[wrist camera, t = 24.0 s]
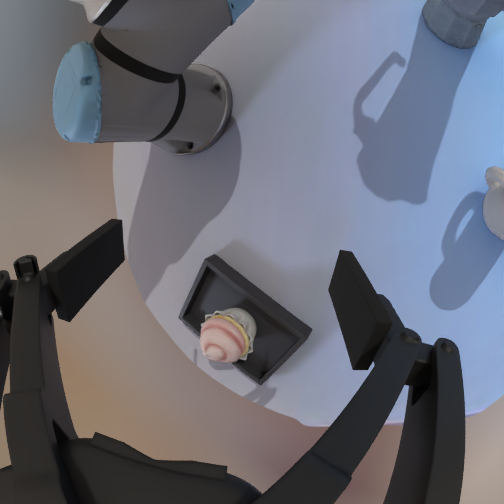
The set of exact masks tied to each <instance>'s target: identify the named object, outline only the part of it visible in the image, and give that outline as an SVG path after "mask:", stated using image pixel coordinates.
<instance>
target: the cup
mask: <svg viewBox="0 0 504 504" xmlns="http://www.w3.org/2000/svg"><path fill="white" fill-rule="evenodd" d="M485 179H486V182H487V184H488V186H489V189H488V191H487V192H486V195H485V197H484V201H483V216H484V220H485V223H486V225H487V227H488V228H489V230H490V231H491V232H492V233H493V234H495V235H496V236H497V237H499V238H500V239H502V240H503V241H504V170H502V169H501V168H499V167H490V168H488V169H487V170H486V173H485Z"/></svg>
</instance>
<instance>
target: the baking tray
mask: <svg viewBox="0 0 504 504" xmlns="http://www.w3.org/2000/svg"><path fill="white" fill-rule="evenodd" d="M229 308H240V309H243V310H245V311H247V312H248V313H249V314H250V315H251V316H252V317H253V319H254V320H255V323H256V327H257V331H256V335H255V337H254V340H253V352H251V353H248V354H247V359H246V360H242V359H238V361H235V362H231V363H232V364H233V365H235V366H236V367H237V368H238V369H240V370H241V371H242V372H244V373H245V374H246V375H247V376H249V377H250V378H251V379H253V380H254V381H255V382H257V383H258V384H259V385H262V384H263V383H264V382H265V381H266V380H267V379H268V378H269V377H270V376H271V375H272V374H273V373H274V372H275V371H276V370H277V369H278V368H279V367H280V366H281V365H282V364H283V363H284V362H285V361H286V360H287V359H288V358H289V357H290V356H291V355H292V354H293V353H294V352H295V351H296V350H297V349H298V348H299V347H300V346H301V345H302V344H303V343H304V342H305V341H306V340H307V338H308V336H309V335H310V333H311V331H312V329H311V328H310V327H308V326H307V325H306V324H304V323H303V322H302V321H300V320H299V319H298V318H296V317H295V316H294V315H293V314H291V313H290V312H289V311H287V310H286V309H285V308H283V307H282V306H281V305H279V304H278V303H277V302H275V301H274V300H273V299H272V298H270V297H269V296H268V295H266V294H265V293H264V292H262V291H261V290H260V289H259V288H257V287H256V286H255V285H253V284H252V283H251V282H250V281H248V280H247V279H246V278H244V277H243V276H242V275H241V274H239V273H238V272H237V271H236V270H234V269H233V268H232V267H230V266H229V265H228V264H227V263H225V262H224V261H223V260H222V259H220V258H219V257H218V256H217V255H215V254H214V255H212V256H210V257H208V258H206V259H205V260H204V262H203V264H202V266H201V268H200V270H199V273H198V275H197V277H196V279H195V281H194V283H193V286H192V288H191V290H190V292H189V294H188V297H187V299H186V301H185V303H184V306H183V308H182V310H181V312H180V315H179V317H178V318H179V319H180V320H182V321H183V322H184V323H185V324H186V325H187V326H188V327H189V328H190V329H192V330H193V331H194V332H195V333H196V334H197V335H198V336H200V337H201V335H200V334H201V328H202V327H201V324H202V323H204V322H205V315H209V314H214V312H215V311H224V310H227V309H229Z"/></svg>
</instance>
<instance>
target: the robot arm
mask: <svg viewBox="0 0 504 504" xmlns="http://www.w3.org/2000/svg"><path fill="white" fill-rule="evenodd" d="M70 1H74V2H77V3H81V4H83V6H84V7H85V10H86V14H87V18H88V21H89V22H91V23H94V24H97V25H100V26H102V27H101V28H100V30H99V31H98V33H97V34H96V36H95V37H94V39H93V40H92V42H91V43H90V42H87V41H84V42H80V43H76V44H74V45H73V46H72V47H71V48H70V50H68V51H67V53H66V54H65V56H64V58H63V60H62V62H61V64H60V67H59V69H58V73H57V76H56V80H55V85H54V92H53V116H54V121H55V125H56V128H57V130H58V132H59V134H60V135H61V136H62V137H63V138H64V139H65V140H67V141H70V142H88V143H90V144H92V143H103V142H141V141H145V142H152V143H154V144H156V145H158V146H160V147H162V148H164V149H165V150H167V151H169V152H172V153H175V155H182V154H196V153H199V152H202V151H204V150H206V149H207V148H209V147H210V146H212V145H213V144H214V143H215V142H216V141H217V140H218V139H219V137H220V136H221V135H222V133H223V132H224V130H225V128H226V127H227V124H228V122H229V119H230V116H231V111H232V93H231V89H230V86H229V84H228V82H227V80H226V79H225V77H224V76H223V75H222V74H221V73H219V72H218V71H216V70H215V69H212V68H210V67H208V66H205V65H201V64H191V63H192V62H193V61H194V60H195V59H196V58H197V57H198V56H199V55H200V54H201V53H202V52H203V51H204V50H205V49H206V48H207V46H208V45H209V44H210V43H212V42H213V41H214V40H215V39H216V38H217V37H218V36H219V35H220V34H221V33H222V32H223V31H224V30H225V29H226V28H227V27H228V26H229V25H233V24H234V23H235V22H236V19H237V18H238V17H239V16H240V15H241V14H242V13H243V12H244V11H245V10H246V9H247V8H248V7H250V6H251V5H252V3H253V2H254V0H70ZM124 260H125V257H124V245H123V228H122V220H117V219H111V220H109V221H108V222H107V223H105V224H104V225H102V226H101V227H99V228H98V229H97V230H95V231H94V232H92V233H91V234H90V235H88V236H87V237H85V238H84V239H83V240H82V241H80V242H79V243H77V244H76V245H75V246H73V247H72V248H71V249H69V250H68V251H66V252H64V253H62V254H61V255H59V256H58V257H57V258H56V259H54V260H53V261H52V262H50V263H49V264H48V265H47V266H46V267H44V268H43V269H42V270H41V271H39V267H38V263H37V259H36V257H35V256H34V255H26V256H23V257H20V258H18V259H17V260H16V261H15V262H14V269H15V272H16V276H17V279H18V280H11V279H10V276H9V273H8V271H5V270H2V271H0V314H1V315H0V408H1V402H2V396H3V391H4V385H5V380H6V376H7V371H8V367H9V363H10V393H8V394H5V395H4V397H3V408H4V419H5V428H6V436H7V442H8V448H9V454H10V459H11V464H12V465H9V466H7V467H4V468H2V469H0V504H334V502H335V501H336V500H337V499H338V497H339V496H340V495H341V493H342V492H343V491H344V490H345V489H346V487H347V486H348V484H349V483H350V481H351V479H352V477H351V475H352V473H353V472H354V470H355V469H356V467H357V466H358V464H359V463H360V462H361V460H362V459H363V457H364V456H365V454H366V453H367V451H368V450H369V448H370V446H371V445H372V443H373V442H374V440H375V438H376V437H377V435H378V433H379V432H380V430H381V428H382V427H383V425H384V423H385V421H386V420H387V418H388V416H389V414H390V412H391V410H392V408H393V407H394V405H395V403H396V401H397V399H398V397H399V395H400V393H401V391H402V388H403V386H404V385H409V391H408V399H407V406H406V413H405V419H404V425H403V430H402V436H401V441H400V445H399V450H398V454H397V459H396V462H395V466H394V470H393V474H392V477H391V481H390V484H389V488H388V491H387V494H386V497H385V500H384V503H383V504H459V501H460V495H461V488H462V480H463V471H464V458H465V457H464V456H465V402H464V388H463V378H462V369H461V362H460V355H459V350H458V347H457V346H456V345H455V343H454V342H452V341H451V340H449V339H446V338H439V339H438V340H437V341H436V342H435V344H434V346H433V345H429V344H425V343H422V340H421V338H420V336H419V335H418V334H417V333H416V332H414V331H413V330H411V329H408V328H405V327H404V325H403V323H402V322H401V320H400V318H399V316H398V315H397V313H396V311H395V310H394V308H393V306H392V304H391V303H390V301H389V300H388V299H387V298H386V297H385V296H383V295H381V294H377V293H376V291H375V289H374V288H373V286H372V284H371V283H370V281H369V279H368V277H367V276H366V274H365V272H364V271H363V269H362V267H361V266H360V264H359V262H358V261H357V259H356V258H355V256H354V254H353V253H352V252H350V251H344V250H340V252H339V255H338V259H337V262H336V266H335V269H334V273H333V276H332V279H331V283H330V286H329V289H328V290H329V293H330V296H331V299H332V303H333V306H334V309H335V312H336V315H337V318H338V321H339V325H340V328H341V331H342V334H343V338H344V341H345V344H346V348H347V351H348V355H349V358H350V362H351V365H352V369H353V370H368V369H369V367H370V365H371V364H372V362H373V361H374V364H375V366H374V368H373V369H372V371H371V372H370V374H369V375H368V377H367V378H366V380H365V381H364V383H363V384H362V385H361V387H360V388H359V390H358V391H357V392H356V394H355V395H354V397H353V398H352V399H351V401H350V402H349V403H348V405H347V406H346V407H345V408H344V410H343V411H342V412H341V414H340V415H339V416H338V417H337V419H336V420H335V421H334V422H333V424H332V425H331V426H330V427H329V429H328V430H327V431H326V432H325V433H324V434H323V435H322V437H321V438H320V439H319V440H318V441H317V442H316V443H315V444H314V446H313V447H312V448H311V449H310V450H309V451H307V452H306V453H305V454H304V455H303V456H302V457H301V458H300V459H299V461H297V462H296V463H295V464H294V465H293V467H291V468H290V469H289V470H288V471H287V472H286V473H285V474H284V476H282V477H281V478H280V479H279V480H278V481H277V482H276V483H275V484H274V485H272V486H271V487H270V488H269V489H268V490H267V491H266V492H265V493H263V494H262V493H261V492H259V491H258V490H257V489H256V488H255V487H254V486H252V485H251V484H250V483H248V482H246V481H244V480H243V479H241V478H239V477H236V476H234V475H231V474H229V473H227V466H222V465H215V464H209V463H203V462H197V461H167V460H155V459H152V458H150V457H148V456H146V455H144V454H143V453H141V452H139V451H137V450H136V449H134V448H132V447H131V446H129V445H127V444H126V443H124V442H121V441H118V440H116V439H113V438H110V437H108V436H105V435H102V434H100V433H97V432H95V434H94V436H93V438H78V436H77V434H76V432H75V429H74V427H73V423H72V420H71V416H70V412H69V409H68V405H67V401H66V396H65V392H64V388H63V383H62V379H61V373H60V367H59V361H58V355H57V348H56V340H55V331H54V321H53V316H52V312H53V311H54V310H55V309H56V312H57V315H58V318H59V319H62V320H65V321H68V322H70V321H71V320H72V319H73V318H74V316H75V315H76V314H77V313H78V312H79V310H80V309H81V308H82V307H83V306H84V305H85V303H86V302H87V301H88V300H89V299H90V298H91V297H92V295H93V294H94V293H95V292H96V291H97V289H98V288H99V287H100V286H101V285H102V284H103V283H104V282H105V281H106V280H107V279H108V278H109V276H110V275H111V274H112V273H113V272H114V271H115V270H116V269H117V268H118V267H119V266H120V264H121V263H123V261H124Z"/></svg>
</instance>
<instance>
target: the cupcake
mask: <svg viewBox="0 0 504 504" xmlns="http://www.w3.org/2000/svg"><path fill="white" fill-rule="evenodd" d="M201 327H202V328H201V334H200V335H201V337H200V347H201V350H202V352H203V354H204V355H205V356H206V357H207V358H208V359H209V360H212V361H218V362H224V363H230V362H235V361H238V359H242V360H246V359H247V354H248V353H251V352H253V340H254V337H255V335H256V331H257V327H256V323H255V320H254V319H253V317H252V316H251V315H250V314H249V313H248V312H247V311H245V310H243V309H240V308H229V309H227V310H224V311H215V312H214V314H209V315H205V322H204V323H202V324H201Z"/></svg>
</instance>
